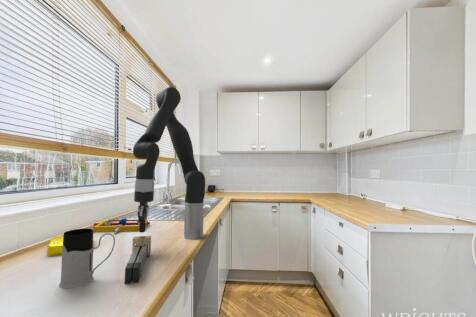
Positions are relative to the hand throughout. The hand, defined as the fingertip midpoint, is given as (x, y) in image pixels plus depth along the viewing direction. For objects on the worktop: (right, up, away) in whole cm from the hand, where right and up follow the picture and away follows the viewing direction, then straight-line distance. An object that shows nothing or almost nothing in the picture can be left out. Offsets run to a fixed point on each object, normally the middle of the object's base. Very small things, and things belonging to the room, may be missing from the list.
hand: (142, 231), depth 99 cm
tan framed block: (+2, -7, -6) cm, 10 cm away
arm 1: (+4, -7, -19) cm, 20 cm away
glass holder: (-6, -7, -26) cm, 28 cm away
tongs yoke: (+2, -8, -6) cm, 10 cm away
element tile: (-31, -8, +2) cm, 32 cm away
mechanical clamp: (-26, -9, +31) cm, 42 cm away
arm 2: (+7, -7, -18) cm, 20 cm away
